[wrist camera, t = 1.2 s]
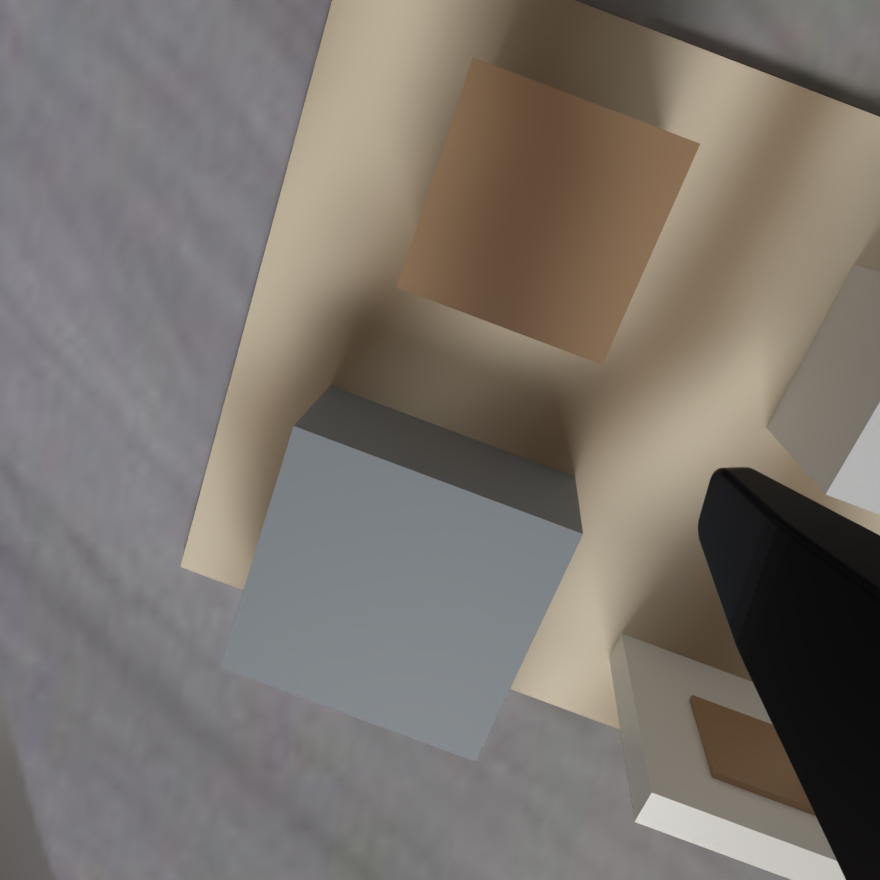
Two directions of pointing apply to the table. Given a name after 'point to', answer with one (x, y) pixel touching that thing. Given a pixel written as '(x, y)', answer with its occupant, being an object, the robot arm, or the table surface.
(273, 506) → the slate block
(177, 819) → the table surface
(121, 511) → the table surface
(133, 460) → the table surface
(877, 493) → the grey cube
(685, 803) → the plaque
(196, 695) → the table surface
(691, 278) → the birch board
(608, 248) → the walnut cube
